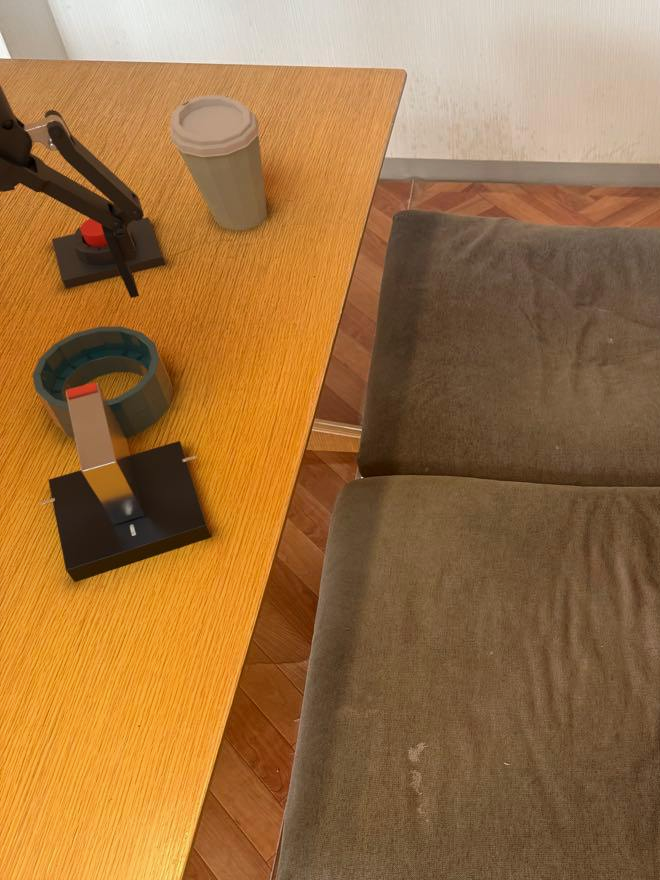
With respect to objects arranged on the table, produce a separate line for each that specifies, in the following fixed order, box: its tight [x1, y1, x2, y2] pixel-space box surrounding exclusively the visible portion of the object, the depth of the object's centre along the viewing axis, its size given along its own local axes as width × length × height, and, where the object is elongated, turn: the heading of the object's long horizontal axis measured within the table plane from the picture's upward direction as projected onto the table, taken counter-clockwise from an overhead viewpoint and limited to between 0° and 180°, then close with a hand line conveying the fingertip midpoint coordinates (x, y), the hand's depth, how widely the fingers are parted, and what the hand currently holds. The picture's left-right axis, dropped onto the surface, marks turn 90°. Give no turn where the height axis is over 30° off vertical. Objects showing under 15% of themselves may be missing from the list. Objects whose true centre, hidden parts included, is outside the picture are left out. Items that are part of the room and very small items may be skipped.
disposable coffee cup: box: [169, 94, 268, 231], centre depth 113 cm, size 11×11×15 cm
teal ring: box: [32, 325, 174, 439], centre depth 97 cm, size 13×13×6 cm
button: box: [79, 218, 108, 247], centre depth 110 cm, size 4×4×2 cm
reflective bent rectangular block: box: [65, 381, 145, 525], centre depth 86 cm, size 11×3×8 cm, turn 24°
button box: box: [51, 216, 166, 290], centre depth 112 cm, size 12×9×4 cm
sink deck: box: [39, 440, 213, 583], centre depth 90 cm, size 15×17×3 cm
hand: (55, 306), depth 81 cm, fingers open, 13 cm apart
